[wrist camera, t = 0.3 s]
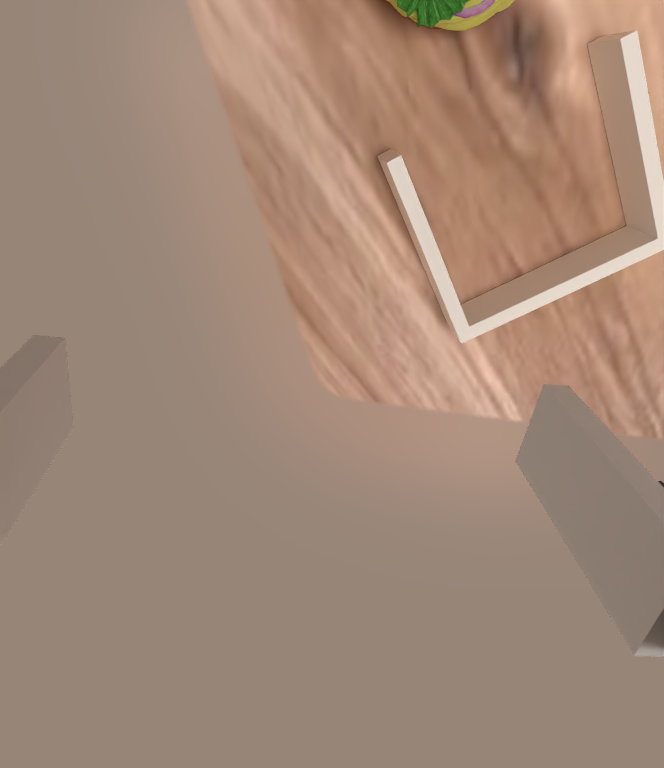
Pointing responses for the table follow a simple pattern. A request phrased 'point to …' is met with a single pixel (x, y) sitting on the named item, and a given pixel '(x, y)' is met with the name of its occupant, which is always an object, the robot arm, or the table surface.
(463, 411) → the table surface
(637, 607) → the robot arm
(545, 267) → the box
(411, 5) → the cheeseburger
